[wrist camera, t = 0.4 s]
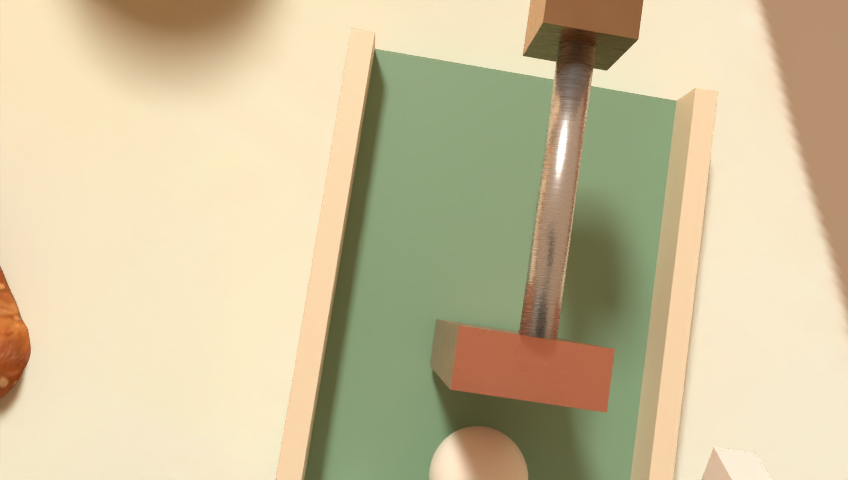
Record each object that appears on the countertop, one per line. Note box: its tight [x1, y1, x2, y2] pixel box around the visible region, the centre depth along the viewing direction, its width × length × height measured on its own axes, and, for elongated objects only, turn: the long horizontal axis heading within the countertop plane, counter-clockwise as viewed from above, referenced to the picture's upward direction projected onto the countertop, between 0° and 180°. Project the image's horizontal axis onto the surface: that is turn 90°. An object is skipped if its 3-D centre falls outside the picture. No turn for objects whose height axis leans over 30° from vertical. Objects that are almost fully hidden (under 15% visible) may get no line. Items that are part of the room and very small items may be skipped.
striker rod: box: [429, 0, 643, 413], centre depth 27 cm, size 14×5×10 cm, turn 171°
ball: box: [429, 426, 528, 480], centre depth 29 cm, size 4×4×4 cm
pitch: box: [276, 28, 718, 480], centre depth 30 cm, size 25×16×5 cm, turn 171°
